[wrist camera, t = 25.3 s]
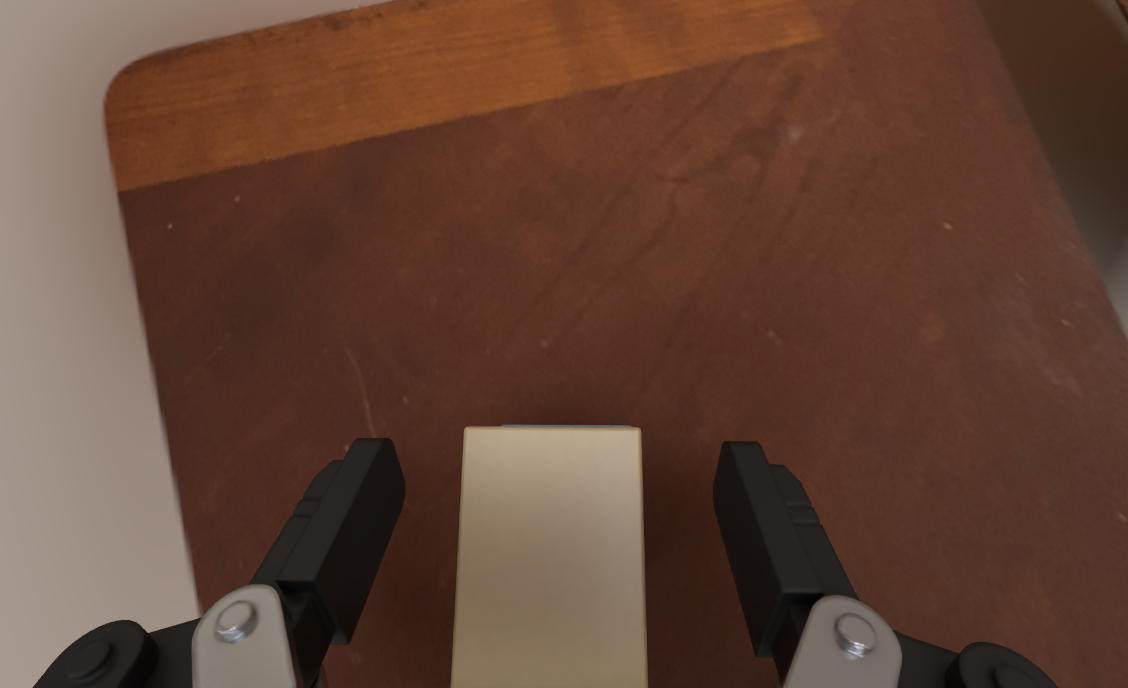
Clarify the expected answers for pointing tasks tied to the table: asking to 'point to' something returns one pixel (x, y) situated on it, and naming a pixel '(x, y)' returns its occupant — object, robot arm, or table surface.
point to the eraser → (551, 559)
